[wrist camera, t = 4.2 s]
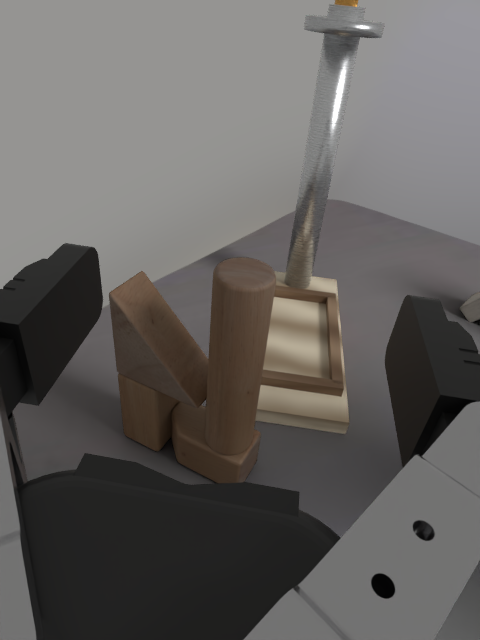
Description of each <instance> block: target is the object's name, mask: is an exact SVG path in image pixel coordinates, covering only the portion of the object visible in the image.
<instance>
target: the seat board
mask: <svg viewBox="0 0 480 640" xmlns="http://www.w3.org/2000/svg"><path fill="white" fill-rule="evenodd" d="M274 272H275V271H274ZM275 275H276V286H275V293H274V300H273V306H272V313H271V319H270V326H269V333H268V339H267V346H266V353H265V359H264V366H263V373H262V379H261V386H260V393H259V399H258V406H257V413H256V419H255V421H261V422H268V423H275V424H281V425H288V426H294V427H301V428H307V429H314V430H321V431H327V432H334V433H340V434H346V431H347V428H348V425H349V414H348V402H347V391H346V380H345V369H344V358H343V347H342V336H341V325H340V314H339V303H338V292H337V281H336V280H335V279H328V278H320V277H313V276H311V281H310V286H309V287H308V288H306V289H299V288H292V287H289V286H287V285H286V284H285V282H284V279H285V273H283V272H275Z"/></svg>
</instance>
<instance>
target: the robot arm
mask: <svg viewBox="0 0 480 640" xmlns="http://www.w3.org/2000/svg"><path fill="white" fill-rule="evenodd" d="M102 303H103V296H102V287H101V277H100V268H99V259H98V254H97V251H96V249H95V248H93V247H88V246H81V245H74V244H68V243H66V244H63V245H62V246H61V247H60V248H59V249H58V250H57V251H55V252H54V253H53V255H51V256H50V257H49V258H48V259H41V260H39V261H37V262H35V263H33V264H30V265H28V266H26V267H25V268H24V269H22V270H21V271H20V272H19V273H18V274H17V275H16V276H15V277H14V278H13V280H10V281H9V282H8V283H7V284H6V285H5V286H4V287H3V289H0V640H434V638H435V637H436V635H437V633H438V632H439V630H440V628H441V626H442V625H443V623H444V621H445V619H446V618H447V616H448V614H449V613H450V611H451V609H452V607H453V606H454V604H455V602H456V600H457V599H458V597H459V595H460V594H461V592H462V590H463V588H464V587H465V585H466V583H467V581H468V580H469V578H470V576H471V575H472V573H473V571H474V569H475V568H476V566H477V564H478V563H479V561H480V354H478V349H477V347H476V345H475V343H474V340H473V338H472V336H471V335H470V334H469V333H468V332H467V331H466V330H465V329H464V328H463V327H462V326H461V325H460V324H459V323H458V322H452V321H448V320H447V317H446V315H445V312H444V310H443V307H442V305H441V302H440V301H439V300H438V299H431V298H425V297H418V296H411V295H407V296H406V297H405V299H404V301H403V303H402V306H401V308H400V311H399V314H398V317H397V320H396V322H395V325H394V328H393V331H392V334H391V336H390V339H389V342H388V345H387V349H386V356H385V368H386V374H387V380H388V385H389V391H390V397H391V403H392V408H393V414H394V420H395V426H396V431H397V437H398V443H399V449H400V454H401V460H402V466H403V469H402V470H401V471H400V472H399V473H398V474H397V476H396V477H395V478H394V479H393V480H392V481H391V482H390V483H389V485H388V486H387V487H386V488H385V489H384V490H383V491H382V492H381V494H380V495H379V496H378V497H377V498H376V499H375V500H374V501H373V503H372V504H371V505H370V506H369V507H368V508H367V509H366V510H365V512H364V513H363V514H362V515H361V516H360V517H359V518H358V519H357V521H356V522H355V523H354V524H353V525H352V526H351V527H350V528H349V530H348V531H347V532H346V533H345V534H344V535H343V536H342V537H341V538H340V537H339V536H338V535H337V534H336V533H335V532H334V531H332V530H331V529H330V528H329V527H327V526H326V525H325V524H323V523H322V522H321V521H319V520H318V519H316V518H314V517H312V516H311V515H309V514H307V513H305V512H303V511H301V510H299V492H297V491H291V490H286V489H280V488H275V487H269V486H263V485H258V484H252V483H247V482H240V483H220V484H200V485H188V484H184V483H181V482H179V481H176V480H174V479H172V478H170V477H167V476H165V475H163V474H161V473H159V472H156V471H154V470H152V469H150V468H147V467H145V466H143V465H141V464H138V463H136V462H131V461H125V460H120V459H114V458H109V457H103V456H97V455H92V454H86V453H85V454H84V456H83V458H82V460H81V462H80V464H79V466H78V468H77V469H76V470H68V471H61V472H56V473H52V474H48V475H44V476H41V477H39V478H36V479H33V480H30V481H28V480H27V476H26V471H25V466H24V461H23V456H22V452H21V447H20V442H19V437H18V432H17V427H16V422H15V418H14V415H13V409H14V408H15V407H16V405H17V404H18V403H19V402H21V403H26V404H32V405H38V406H39V404H40V403H41V401H42V400H43V398H44V397H45V396H46V394H47V393H48V391H49V390H50V388H51V387H52V386H53V384H54V383H55V381H56V380H57V378H58V377H59V375H60V374H61V373H62V371H63V370H64V368H65V367H66V365H67V364H68V362H69V361H70V360H71V358H72V357H73V355H74V354H75V352H76V351H77V350H78V348H79V347H80V345H81V344H82V342H83V341H84V339H85V338H86V337H87V335H88V334H89V332H90V331H91V329H92V328H93V326H94V325H95V324H96V322H97V321H98V319H99V317H100V314H101V310H102Z"/></svg>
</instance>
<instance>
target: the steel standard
mask: <svg viewBox="0 0 480 640" xmlns="http://www.w3.org/2000/svg"><path fill="white" fill-rule="evenodd" d="M357 3H358V0H335V4H329V8H328V14H327V16H315V15H314V16H313V15H306V17H305V25H304V29H305V30H309V31H314V32H319V33H324V39H323V46H322V51H321V58H320V64H319V70H318V76H317V83H316V89H315V95H314V101H313V107H312V113H311V119H310V126H309V132H308V138H307V144H306V150H305V156H304V163H303V168H302V175H301V182H300V187H299V194H298V200H297V206H296V212H295V218H294V224H293V230H292V236H291V242H290V249H289V255H288V261H287V267H286V273H285V279H284V282H285V284H286V285H287V286H289V287H292V288H299V289H306V288H308V287H309V286H310V281H311V276H312V271H313V266H314V261H315V256H316V251H317V246H318V242H319V237H320V232H321V227H322V222H323V217H324V212H325V207H326V202H327V197H328V192H329V187H330V182H331V177H332V172H333V167H334V162H335V157H336V152H337V148H338V143H339V138H340V133H341V128H342V123H343V118H344V113H345V108H346V103H347V98H348V93H349V88H350V83H351V78H352V73H353V68H354V64H355V59H356V54H357V49H358V44H359V39H360V37H365V38H381V37H382V34H383V29H384V23H379V22H373V21H365V20H363V19H364V14H365V9H366V8H362V7H357Z"/></svg>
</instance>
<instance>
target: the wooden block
mask: <svg viewBox="0 0 480 640" xmlns="http://www.w3.org/2000/svg"><path fill="white" fill-rule="evenodd" d="M275 286H276V275H275V272H274V270H273V269H272V268H271V267H270V266H269V265H268V264H266V263H264V262H262V261H259V260H256V259H252V258H243V257H238V258H230V259H227V260H224V261H222V262H220V263H219V264H218V265H217V266H216V268H215V269H214V272H213V287H212V305H211V324H210V343H209V360H208V358H207V357H206V355H205V354H204V353H203V351H202V350H201V349H200V347H199V346H198V345H197V343H196V342H195V341H194V339H193V338H192V337H191V335H190V334H189V332H188V331H187V330H186V328H185V327H184V326H183V324H182V323H181V322H180V320H179V319H178V318H177V316H176V315H175V314H174V312H173V311H172V309H171V308H170V307H169V305H168V304H167V303H166V301H165V300H164V299H163V297H162V296H161V295H160V293H159V292H158V291H157V289H156V288H155V286H154V285H153V284H152V282H151V281H150V280H149V278H148V277H147V276H146V274H145V273H144V272H143V271H141V272H139V273H138V274H136V275H135V276H134V277H132V278H131V279H129V280H128V281H126V282H125V283H123V284H122V285H120V286H119V287H117V288H116V289H114V290H113V291H111V292H110V293H109V300H110V309H111V319H112V328H113V338H114V347H115V356H116V366H117V371H118V373H119V374H118V381H119V391H120V400H121V409H122V419H123V428H124V434H125V435H126V436H127V437H129V438H131V439H133V440H135V441H137V442H139V443H140V444H142V445H144V446H146V447H148V448H150V449H152V450H154V451H159V450H160V449H161V448H162V447H163V446H164V445H165V443H166V442H167V441H168V440H169V439H170V437H172V443H173V447H174V451H175V455H176V459H177V461H178V462H179V463H180V464H182V465H184V466H186V467H188V468H190V469H191V470H193V471H195V472H197V473H199V474H201V475H203V476H205V477H207V478H209V479H211V480H213V481H215V482H216V483H218V484H220V483H240V482H244V481H245V480H246V478H247V476H248V475H249V473H250V471H251V470H252V468H253V466H254V465H255V463H256V461H257V456H258V450H259V444H260V438H261V433H260V432H259V431H257V430H255V429H254V426H255V419H256V413H257V406H258V399H259V393H260V386H261V379H262V373H263V366H264V359H265V353H266V346H267V339H268V333H269V326H270V319H271V313H272V306H273V300H274V293H275ZM206 398H207V399H206ZM205 400H206V407H205V406H202V405H201V404H202V403H203V402H204V401H205Z"/></svg>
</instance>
